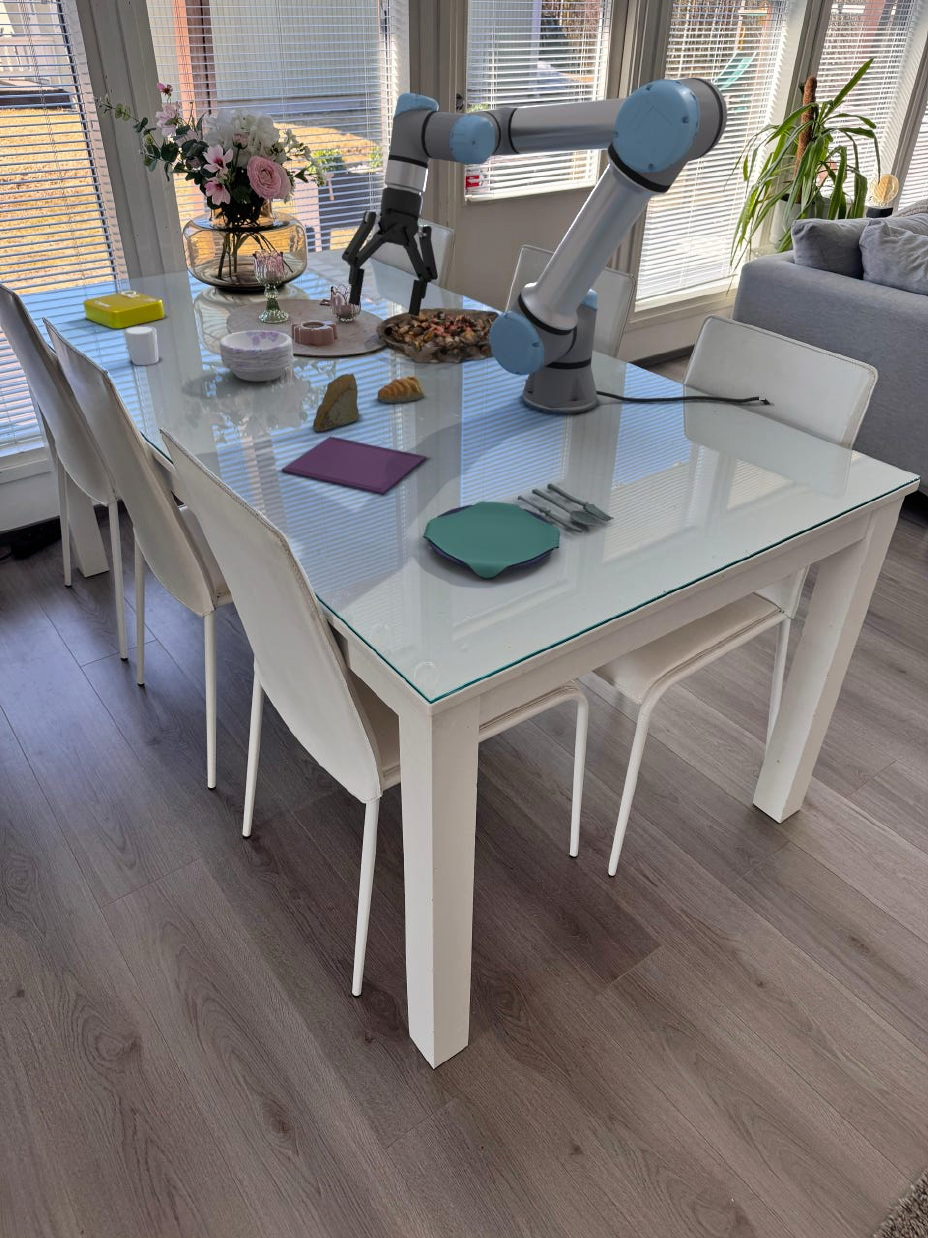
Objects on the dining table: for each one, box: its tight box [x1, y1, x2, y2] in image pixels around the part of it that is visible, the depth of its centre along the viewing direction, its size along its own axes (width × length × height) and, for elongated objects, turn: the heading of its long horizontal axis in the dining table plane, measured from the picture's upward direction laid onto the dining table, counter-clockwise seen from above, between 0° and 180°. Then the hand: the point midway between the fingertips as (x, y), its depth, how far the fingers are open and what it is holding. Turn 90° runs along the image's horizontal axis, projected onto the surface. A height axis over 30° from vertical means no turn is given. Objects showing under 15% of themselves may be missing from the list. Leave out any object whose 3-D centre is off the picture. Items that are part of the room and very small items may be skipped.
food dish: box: [375, 307, 500, 364], centre depth 215 cm, size 35×33×8 cm
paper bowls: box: [219, 329, 294, 383], centre depth 192 cm, size 15×15×8 cm
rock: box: [312, 373, 360, 432], centre depth 171 cm, size 11×9×10 cm
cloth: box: [281, 436, 427, 495], centre depth 157 cm, size 20×16×1 cm
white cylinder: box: [123, 325, 159, 366], centre depth 199 cm, size 7×7×7 cm
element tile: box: [82, 290, 166, 330], centre depth 226 cm, size 15×15×5 cm
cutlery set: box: [422, 482, 615, 579], centre depth 137 cm, size 20×30×2 cm, turn 128°
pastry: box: [377, 376, 424, 404], centre depth 183 cm, size 9×7×4 cm
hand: (384, 310), depth 171 cm, fingers open, 13 cm apart
